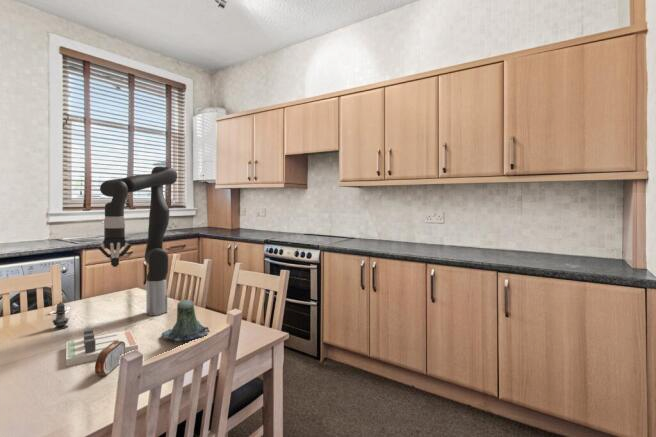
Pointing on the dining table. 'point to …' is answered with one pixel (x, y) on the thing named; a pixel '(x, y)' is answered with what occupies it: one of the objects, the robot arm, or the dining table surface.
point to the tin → (109, 358)
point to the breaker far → (88, 331)
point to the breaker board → (97, 347)
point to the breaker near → (89, 345)
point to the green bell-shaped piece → (185, 325)
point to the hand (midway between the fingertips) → (114, 266)
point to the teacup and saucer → (56, 310)
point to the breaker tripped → (88, 337)
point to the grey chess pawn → (60, 317)
